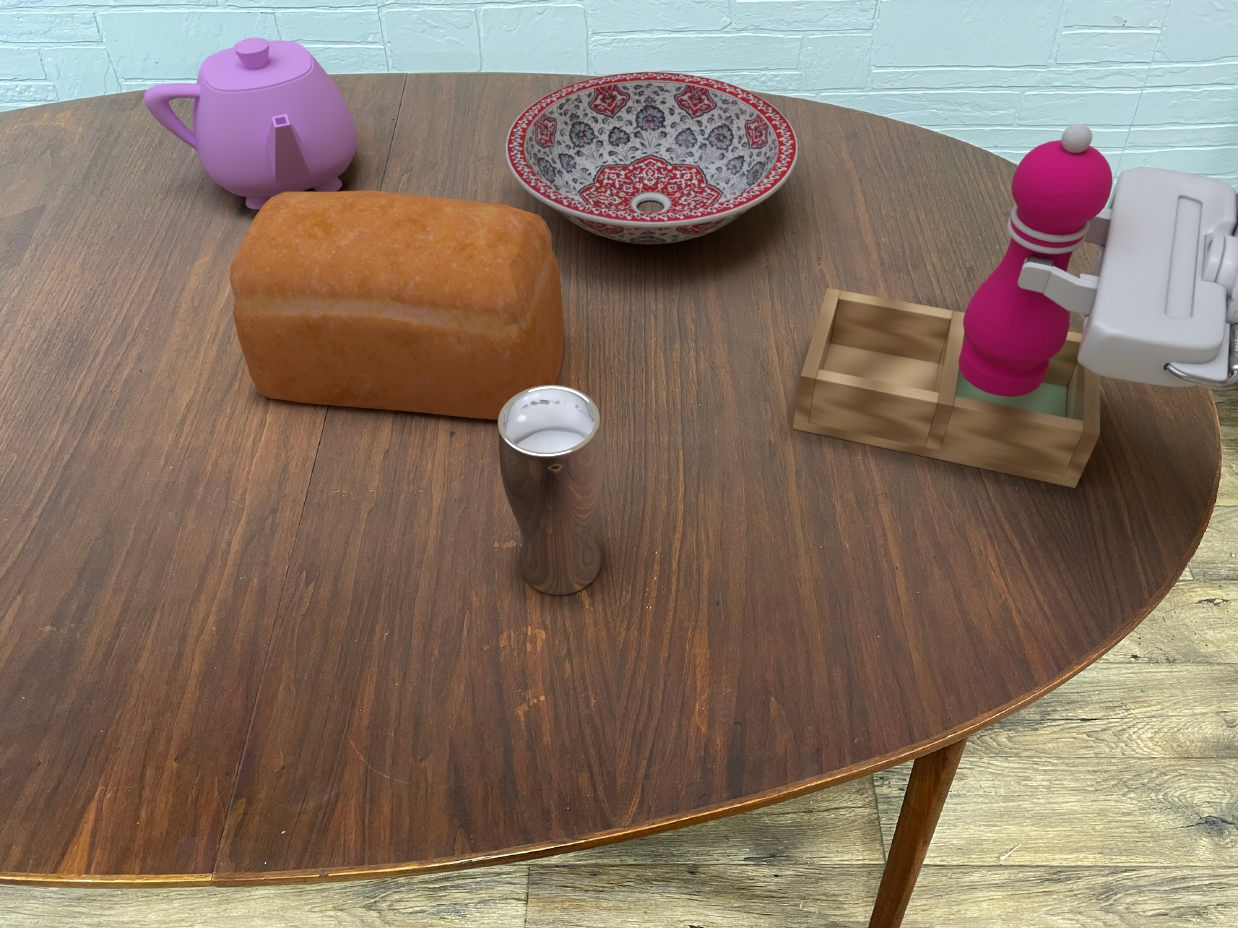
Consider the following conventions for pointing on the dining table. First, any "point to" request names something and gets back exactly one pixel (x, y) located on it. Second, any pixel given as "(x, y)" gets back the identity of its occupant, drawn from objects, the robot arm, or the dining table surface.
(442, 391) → the bread
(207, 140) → the teapot
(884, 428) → the divided wooden box
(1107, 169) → the pepper mill
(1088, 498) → the dining table surface
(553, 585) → the metal cup
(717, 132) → the ceramic bowl
